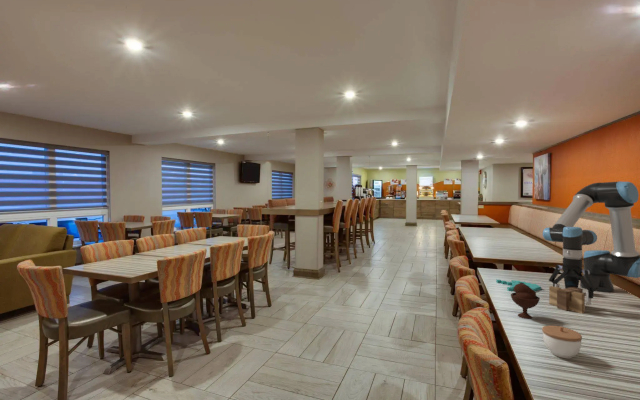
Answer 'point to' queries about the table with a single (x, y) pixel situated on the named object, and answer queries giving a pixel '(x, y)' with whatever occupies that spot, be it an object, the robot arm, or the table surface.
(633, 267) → the robot arm
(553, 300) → the oak board
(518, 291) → the ice cream bowl
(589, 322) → the table surface
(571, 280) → the dixie cup
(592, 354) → the table surface
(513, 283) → the alien figure
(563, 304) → the walnut plate
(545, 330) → the lidded jar
